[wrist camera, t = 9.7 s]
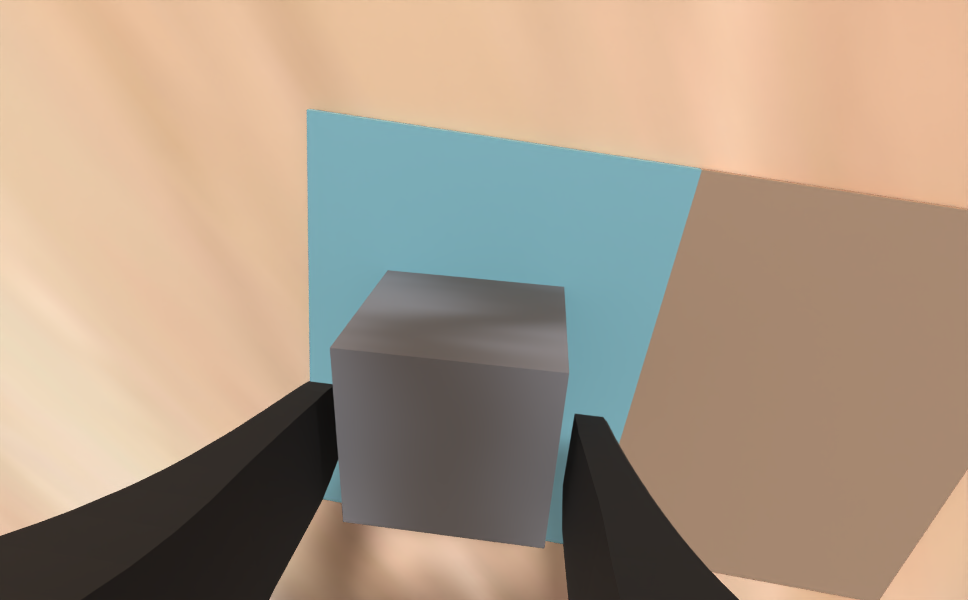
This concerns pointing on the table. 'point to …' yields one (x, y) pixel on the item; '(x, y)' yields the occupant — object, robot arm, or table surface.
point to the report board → (690, 329)
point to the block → (452, 406)
